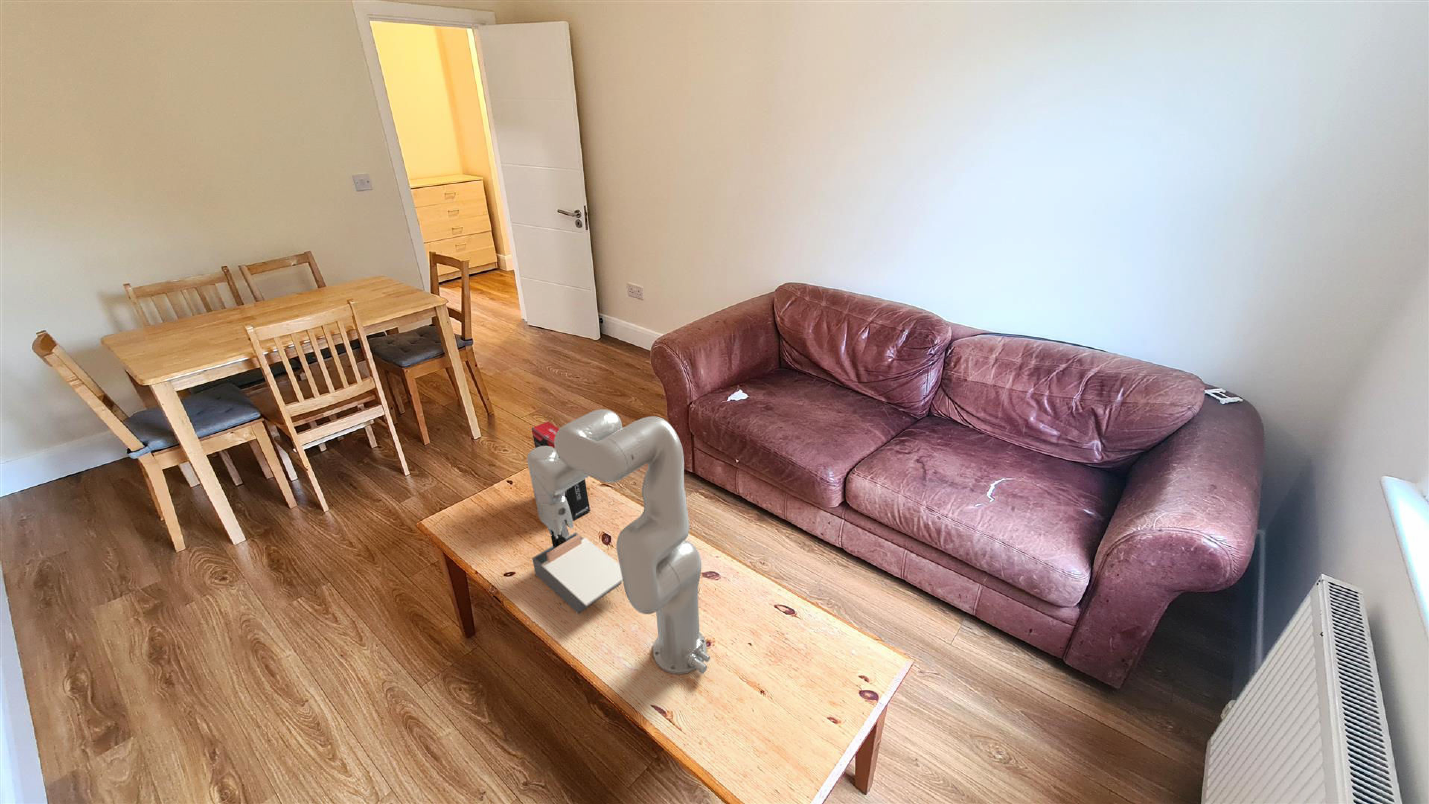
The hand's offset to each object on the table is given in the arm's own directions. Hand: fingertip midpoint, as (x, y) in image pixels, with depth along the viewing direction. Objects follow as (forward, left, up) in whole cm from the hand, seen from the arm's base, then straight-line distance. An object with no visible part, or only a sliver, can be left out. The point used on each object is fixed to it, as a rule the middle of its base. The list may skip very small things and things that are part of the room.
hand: (559, 545), depth 157 cm
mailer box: (-7, 0, -8) cm, 10 cm away
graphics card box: (+22, -16, -8) cm, 28 cm away
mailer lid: (-12, 0, -1) cm, 12 cm away
